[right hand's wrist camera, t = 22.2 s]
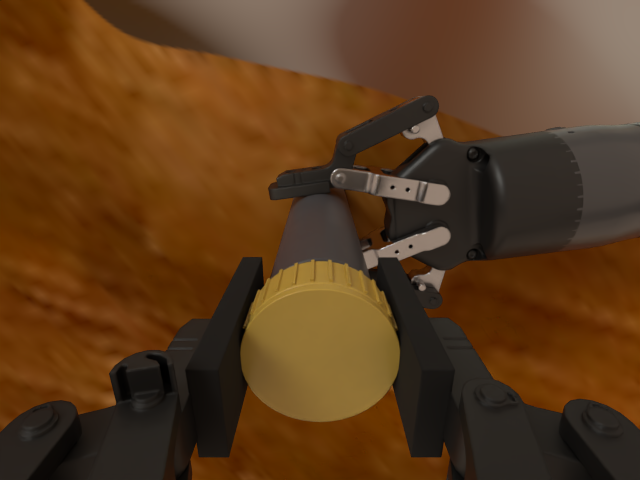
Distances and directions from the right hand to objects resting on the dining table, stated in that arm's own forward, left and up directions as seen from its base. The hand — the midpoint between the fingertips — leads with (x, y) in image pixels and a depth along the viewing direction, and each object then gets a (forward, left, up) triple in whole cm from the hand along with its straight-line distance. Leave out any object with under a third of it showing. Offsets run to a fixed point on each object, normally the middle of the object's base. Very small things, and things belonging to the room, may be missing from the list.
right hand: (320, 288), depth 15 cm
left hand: (-1, -2, -9) cm, 10 cm away
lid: (0, 0, +4) cm, 4 cm away
